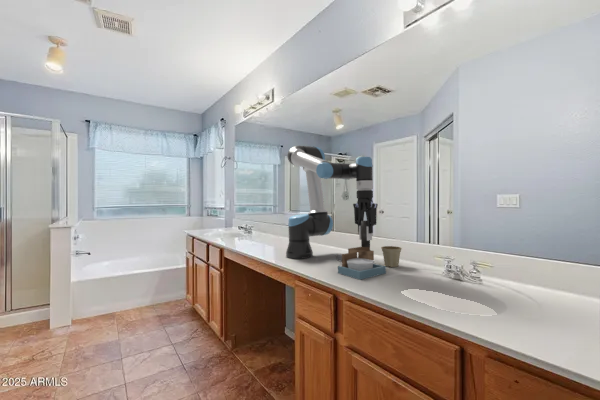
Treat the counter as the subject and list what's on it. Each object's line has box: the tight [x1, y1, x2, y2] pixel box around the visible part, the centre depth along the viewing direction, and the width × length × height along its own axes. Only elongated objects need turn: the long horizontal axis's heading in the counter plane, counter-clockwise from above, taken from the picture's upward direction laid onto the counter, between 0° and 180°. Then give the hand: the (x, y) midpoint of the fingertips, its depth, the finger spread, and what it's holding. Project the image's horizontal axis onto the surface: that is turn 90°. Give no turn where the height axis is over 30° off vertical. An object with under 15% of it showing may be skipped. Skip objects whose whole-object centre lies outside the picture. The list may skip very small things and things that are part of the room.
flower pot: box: [380, 245, 403, 268], centre depth 137 cm, size 9×9×9 cm
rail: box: [336, 253, 358, 262], centre depth 145 cm, size 19×3×3 cm, turn 34°
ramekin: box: [347, 258, 375, 271], centre depth 126 cm, size 11×11×5 cm
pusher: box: [341, 220, 375, 268], centre depth 134 cm, size 6×16×21 cm, turn 124°
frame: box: [337, 263, 387, 280], centre depth 125 cm, size 13×16×3 cm
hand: (365, 239), depth 137 cm, fingers closed on pusher, 4 cm apart
